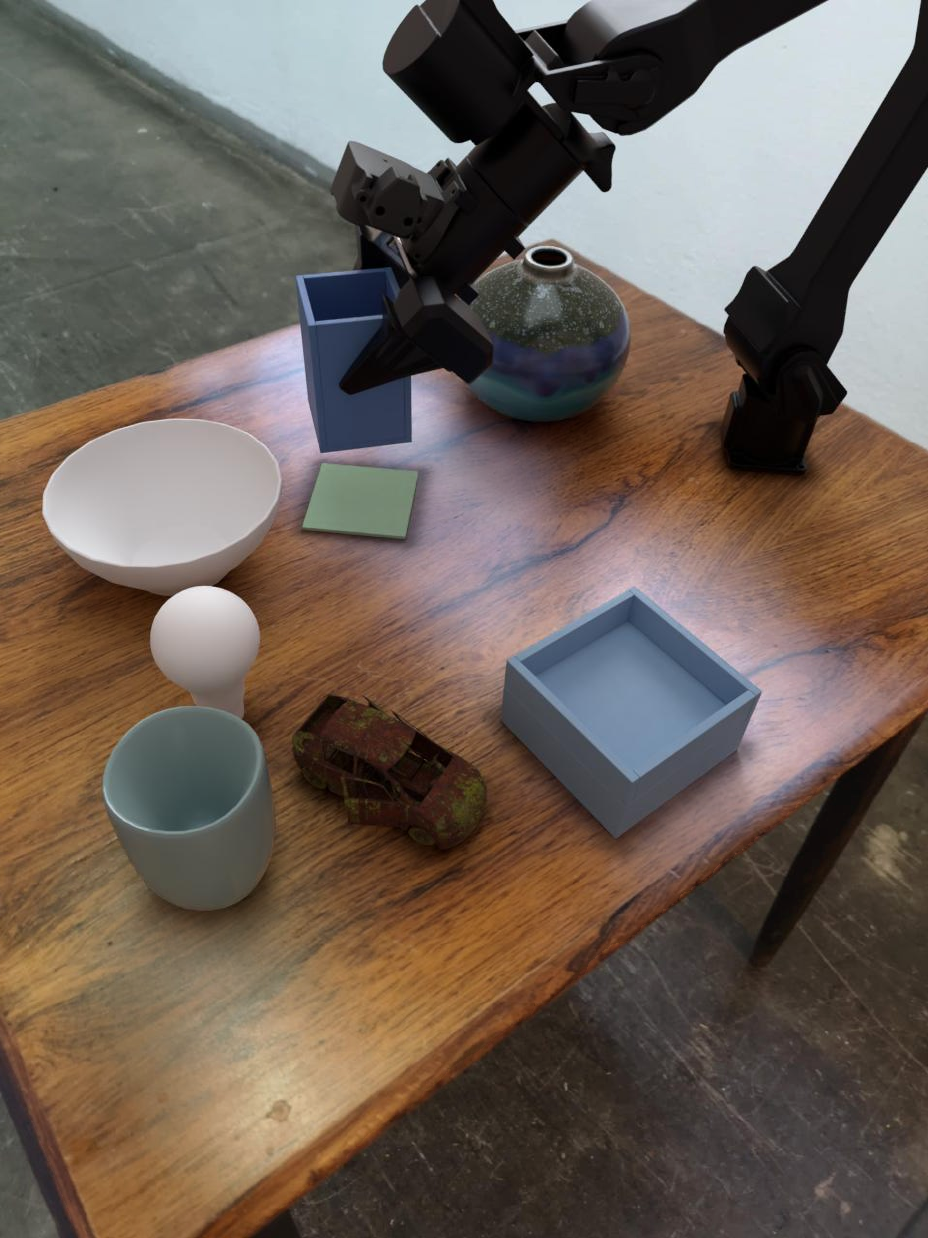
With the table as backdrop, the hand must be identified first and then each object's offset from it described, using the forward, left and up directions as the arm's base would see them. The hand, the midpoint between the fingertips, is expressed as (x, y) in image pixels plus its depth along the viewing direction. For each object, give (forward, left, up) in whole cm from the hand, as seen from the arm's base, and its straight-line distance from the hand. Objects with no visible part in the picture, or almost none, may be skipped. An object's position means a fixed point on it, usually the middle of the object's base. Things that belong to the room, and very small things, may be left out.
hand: (336, 362), depth 66 cm
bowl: (+11, +8, -13) cm, 19 cm away
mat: (-1, 0, -13) cm, 13 cm away
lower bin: (-21, +20, -13) cm, 32 cm away
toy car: (-7, +26, -13) cm, 30 cm away
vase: (-14, -17, -13) cm, 26 cm away
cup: (+2, +32, -13) cm, 35 cm away
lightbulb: (+4, +22, -13) cm, 26 cm away
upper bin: (-1, 0, -5) cm, 5 cm away
